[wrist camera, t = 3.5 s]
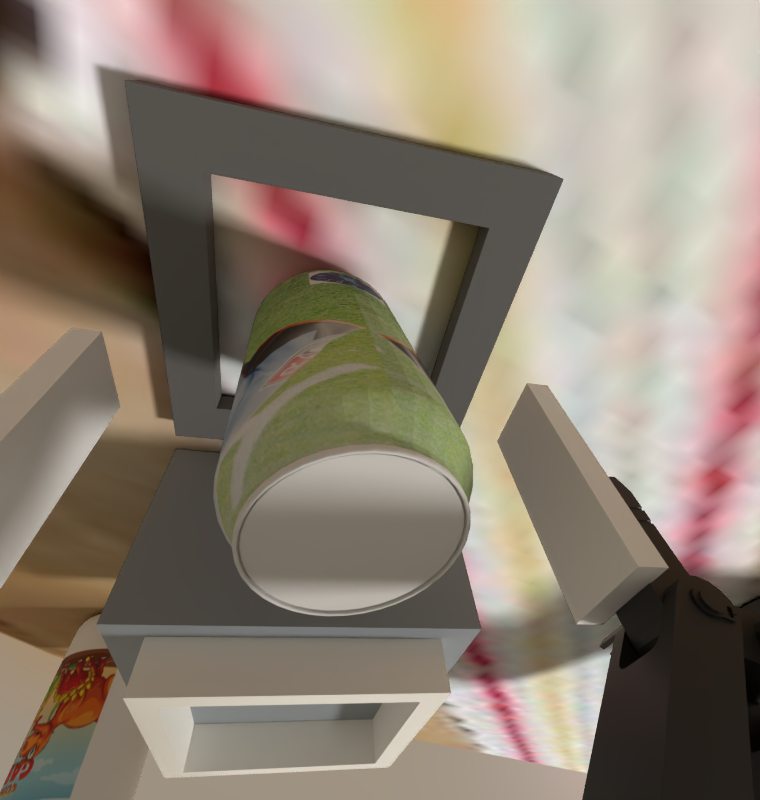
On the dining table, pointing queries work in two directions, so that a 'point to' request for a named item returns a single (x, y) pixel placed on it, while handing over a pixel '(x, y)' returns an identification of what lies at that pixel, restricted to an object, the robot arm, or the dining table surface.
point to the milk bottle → (81, 732)
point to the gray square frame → (328, 176)
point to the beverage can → (339, 456)
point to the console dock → (266, 652)
